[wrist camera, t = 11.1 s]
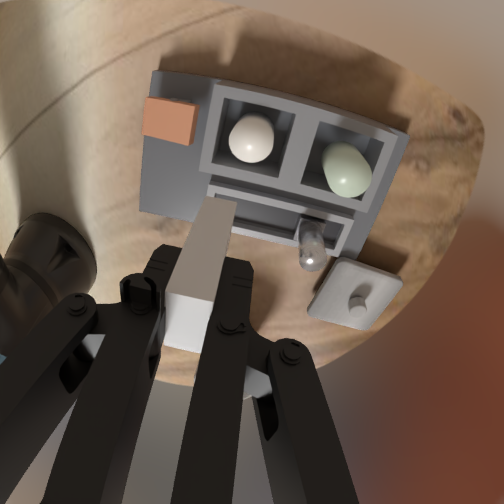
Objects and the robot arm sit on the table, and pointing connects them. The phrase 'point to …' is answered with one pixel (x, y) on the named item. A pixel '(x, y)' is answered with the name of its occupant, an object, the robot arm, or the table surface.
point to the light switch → (354, 294)
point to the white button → (252, 137)
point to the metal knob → (310, 242)
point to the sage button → (346, 169)
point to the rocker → (170, 120)
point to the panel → (267, 163)
